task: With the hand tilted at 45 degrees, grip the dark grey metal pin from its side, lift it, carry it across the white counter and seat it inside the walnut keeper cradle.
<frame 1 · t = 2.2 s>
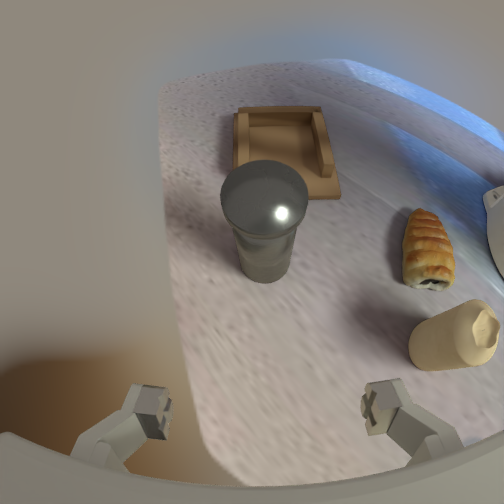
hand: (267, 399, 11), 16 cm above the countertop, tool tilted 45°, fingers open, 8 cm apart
keeper cradle: (282, 152, 36), on the countertop
pastry: (421, 258, 31), on the countertop
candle: (428, 345, 27), on the countertop
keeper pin: (264, 259, 31), on the countertop
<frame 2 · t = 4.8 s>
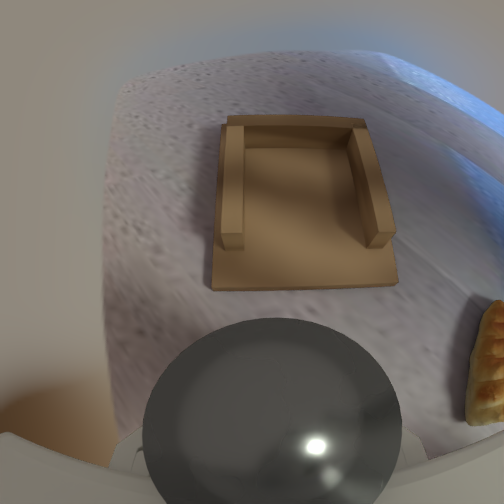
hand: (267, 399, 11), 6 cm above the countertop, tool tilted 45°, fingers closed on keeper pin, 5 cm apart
keeper cradle: (300, 196, 22), on the countertop
pastry: (488, 373, 16), on the countertop
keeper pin: (265, 402, 16), on the countertop, touching gripper
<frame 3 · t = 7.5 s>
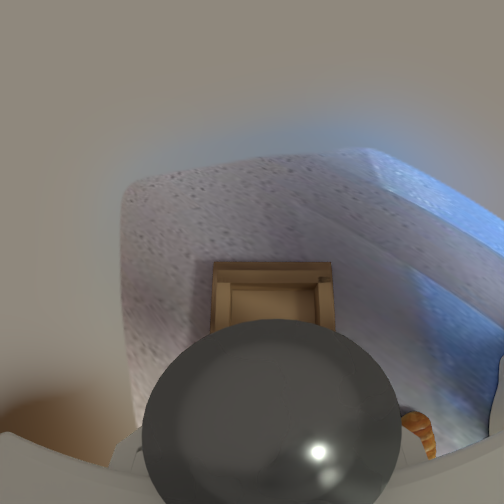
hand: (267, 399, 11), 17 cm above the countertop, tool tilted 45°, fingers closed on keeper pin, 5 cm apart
keeper cradle: (273, 332, 29), on the countertop
pastry: (400, 457, 23), on the countertop
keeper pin: (265, 402, 16), point 11 cm above the countertop, touching gripper
when the fingers open (8 cm above the countertop, at t = 10.1 s): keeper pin drops 1 cm, resting on keeper cradle.
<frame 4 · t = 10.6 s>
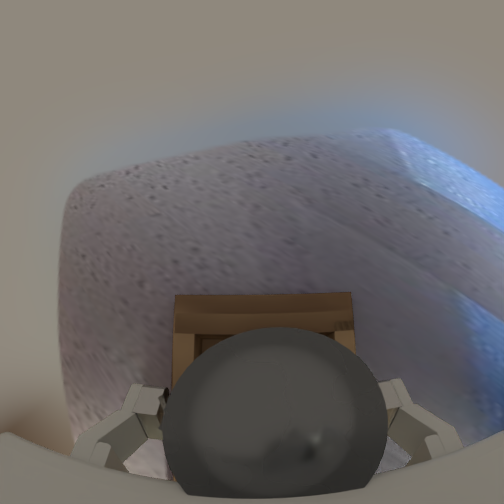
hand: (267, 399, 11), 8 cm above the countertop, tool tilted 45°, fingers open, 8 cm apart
keeper cradle: (264, 399, 18), on the countertop
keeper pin: (266, 400, 17), point 1 cm above the countertop, touching keeper cradle
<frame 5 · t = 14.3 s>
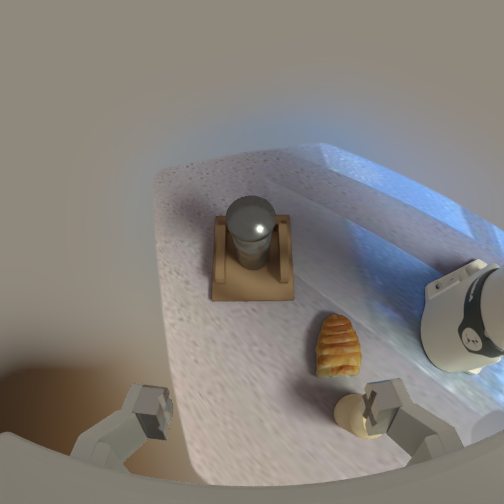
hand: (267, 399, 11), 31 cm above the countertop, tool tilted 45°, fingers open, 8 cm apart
keeper cradle: (252, 257, 48), on the countertop
pastry: (334, 352, 42), on the countertop
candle: (351, 411, 38), on the countertop
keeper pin: (253, 254, 47), point 1 cm above the countertop, touching keeper cradle
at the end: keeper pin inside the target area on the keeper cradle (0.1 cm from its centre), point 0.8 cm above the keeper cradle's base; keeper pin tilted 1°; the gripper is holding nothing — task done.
